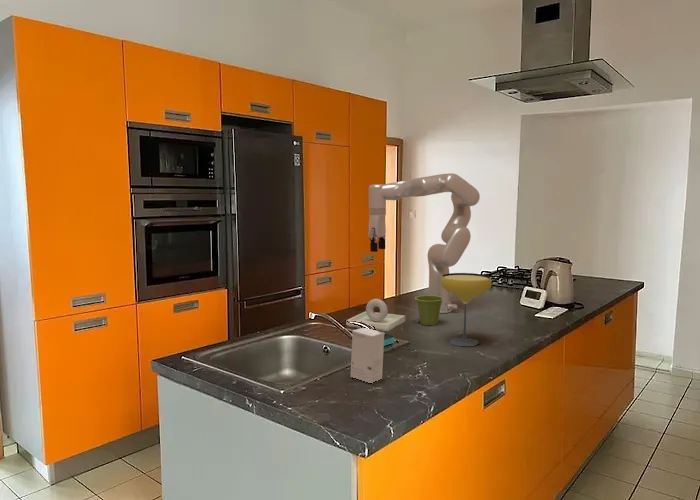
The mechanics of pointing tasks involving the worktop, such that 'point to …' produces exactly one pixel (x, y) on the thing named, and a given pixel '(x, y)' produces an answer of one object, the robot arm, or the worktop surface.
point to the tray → (385, 325)
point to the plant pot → (429, 309)
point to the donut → (382, 307)
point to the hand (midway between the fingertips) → (378, 250)
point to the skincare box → (367, 355)
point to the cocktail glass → (465, 295)
